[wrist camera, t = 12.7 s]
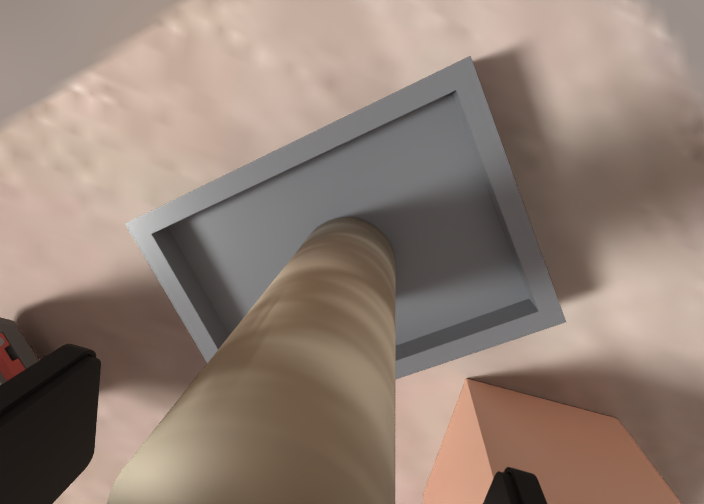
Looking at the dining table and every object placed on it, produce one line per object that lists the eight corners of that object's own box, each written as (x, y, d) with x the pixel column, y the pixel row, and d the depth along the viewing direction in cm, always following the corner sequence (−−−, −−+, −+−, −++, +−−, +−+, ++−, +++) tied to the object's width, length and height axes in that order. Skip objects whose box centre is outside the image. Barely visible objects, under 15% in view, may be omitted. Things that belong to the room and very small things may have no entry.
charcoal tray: (460, 65, 20) (470, 55, 18) (546, 299, 23) (566, 321, 21) (154, 212, 24) (124, 223, 21) (261, 399, 27) (246, 429, 24)
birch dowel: (406, 230, 22) (431, 475, 6) (382, 317, 23) (356, 684, 8) (311, 206, 22) (114, 391, 7) (293, 294, 23) (98, 613, 8)
